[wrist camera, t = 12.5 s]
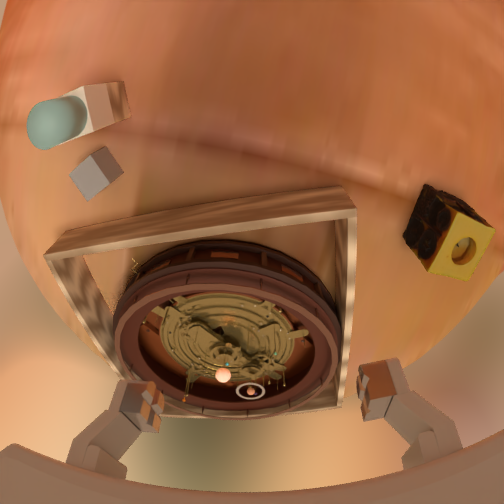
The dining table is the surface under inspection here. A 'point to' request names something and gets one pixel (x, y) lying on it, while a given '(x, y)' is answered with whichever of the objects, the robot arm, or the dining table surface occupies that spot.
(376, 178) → the dining table surface
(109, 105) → the cream white cube
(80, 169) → the slate block
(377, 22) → the dining table surface
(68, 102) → the sage green cylinder
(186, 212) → the orrery frame
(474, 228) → the yellow dark brown cube
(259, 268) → the planetary model
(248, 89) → the dining table surface
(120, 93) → the tower base
